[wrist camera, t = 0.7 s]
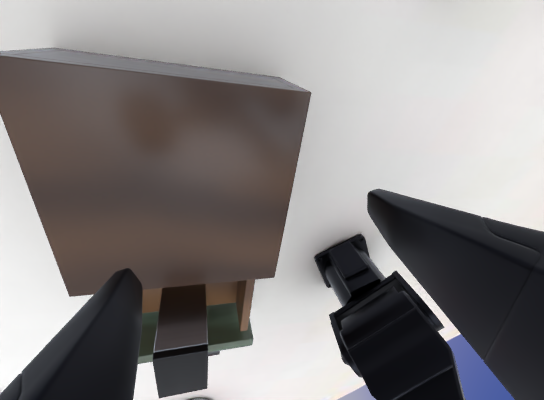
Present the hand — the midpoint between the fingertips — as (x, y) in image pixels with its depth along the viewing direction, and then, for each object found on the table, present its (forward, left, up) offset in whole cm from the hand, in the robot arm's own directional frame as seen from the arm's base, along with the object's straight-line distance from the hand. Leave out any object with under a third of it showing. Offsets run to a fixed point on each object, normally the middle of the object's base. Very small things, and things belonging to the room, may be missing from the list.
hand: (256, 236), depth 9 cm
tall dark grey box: (-12, +11, -12) cm, 20 cm away
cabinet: (-1, +4, -14) cm, 14 cm away
